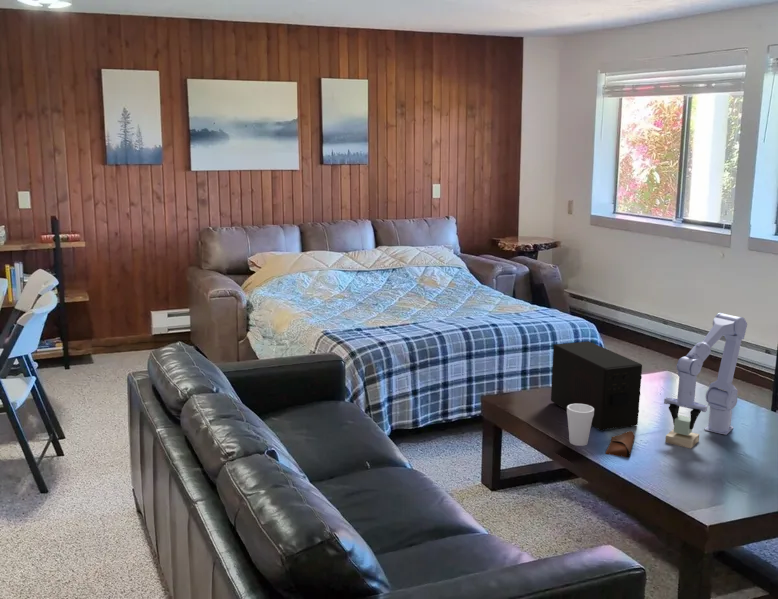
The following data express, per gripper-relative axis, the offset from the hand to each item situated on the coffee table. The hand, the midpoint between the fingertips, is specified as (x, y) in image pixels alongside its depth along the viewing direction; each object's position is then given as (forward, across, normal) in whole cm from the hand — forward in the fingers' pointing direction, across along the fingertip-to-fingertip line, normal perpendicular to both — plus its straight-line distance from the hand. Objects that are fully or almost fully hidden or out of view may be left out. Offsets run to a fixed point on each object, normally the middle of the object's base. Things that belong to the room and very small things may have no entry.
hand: (683, 426), depth 284 cm
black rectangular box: (+6, -35, +6) cm, 36 cm away
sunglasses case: (+6, -16, -19) cm, 25 cm away
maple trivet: (+6, 0, 0) cm, 6 cm away
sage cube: (+2, 0, 0) cm, 2 cm away
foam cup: (+6, -29, -24) cm, 38 cm away
